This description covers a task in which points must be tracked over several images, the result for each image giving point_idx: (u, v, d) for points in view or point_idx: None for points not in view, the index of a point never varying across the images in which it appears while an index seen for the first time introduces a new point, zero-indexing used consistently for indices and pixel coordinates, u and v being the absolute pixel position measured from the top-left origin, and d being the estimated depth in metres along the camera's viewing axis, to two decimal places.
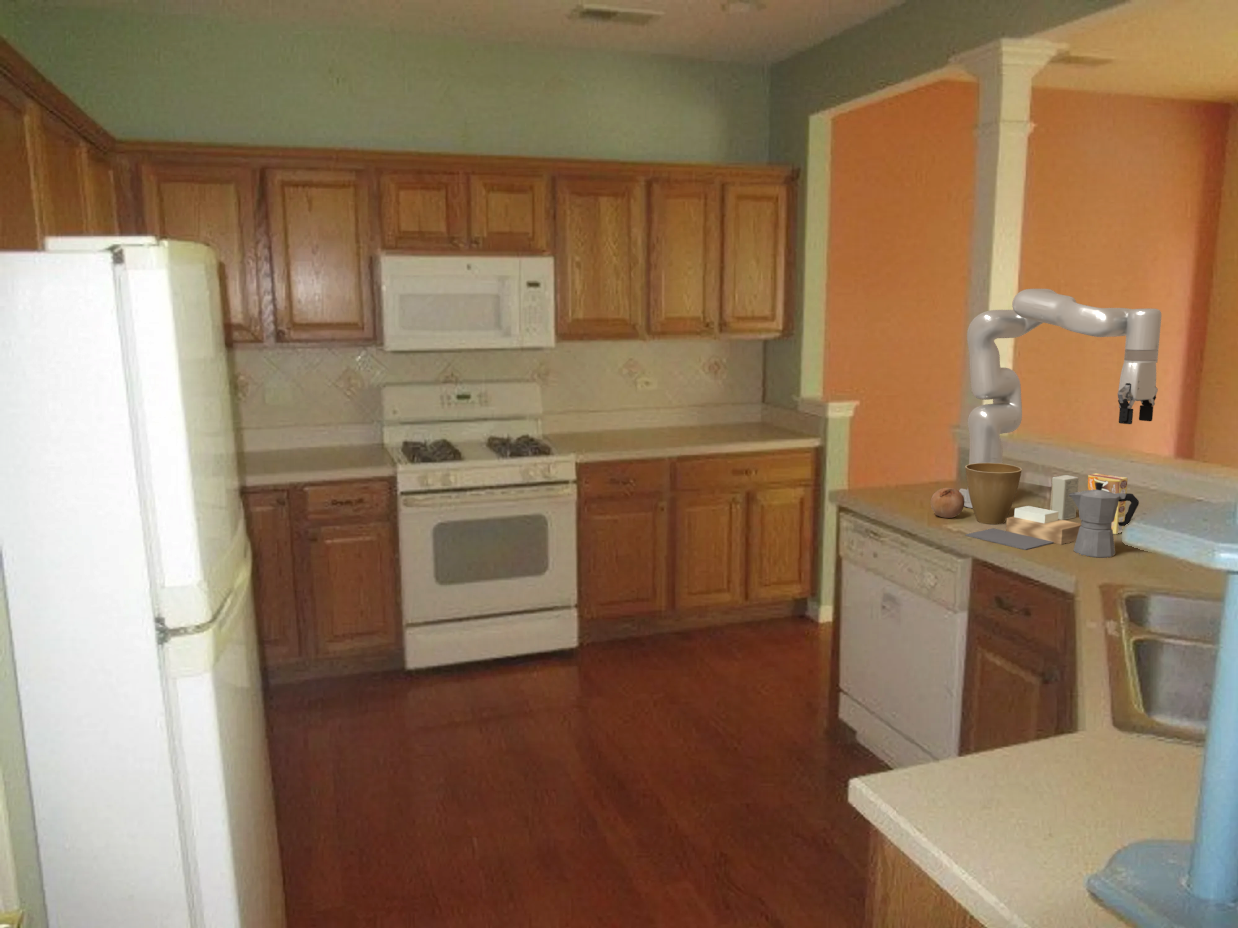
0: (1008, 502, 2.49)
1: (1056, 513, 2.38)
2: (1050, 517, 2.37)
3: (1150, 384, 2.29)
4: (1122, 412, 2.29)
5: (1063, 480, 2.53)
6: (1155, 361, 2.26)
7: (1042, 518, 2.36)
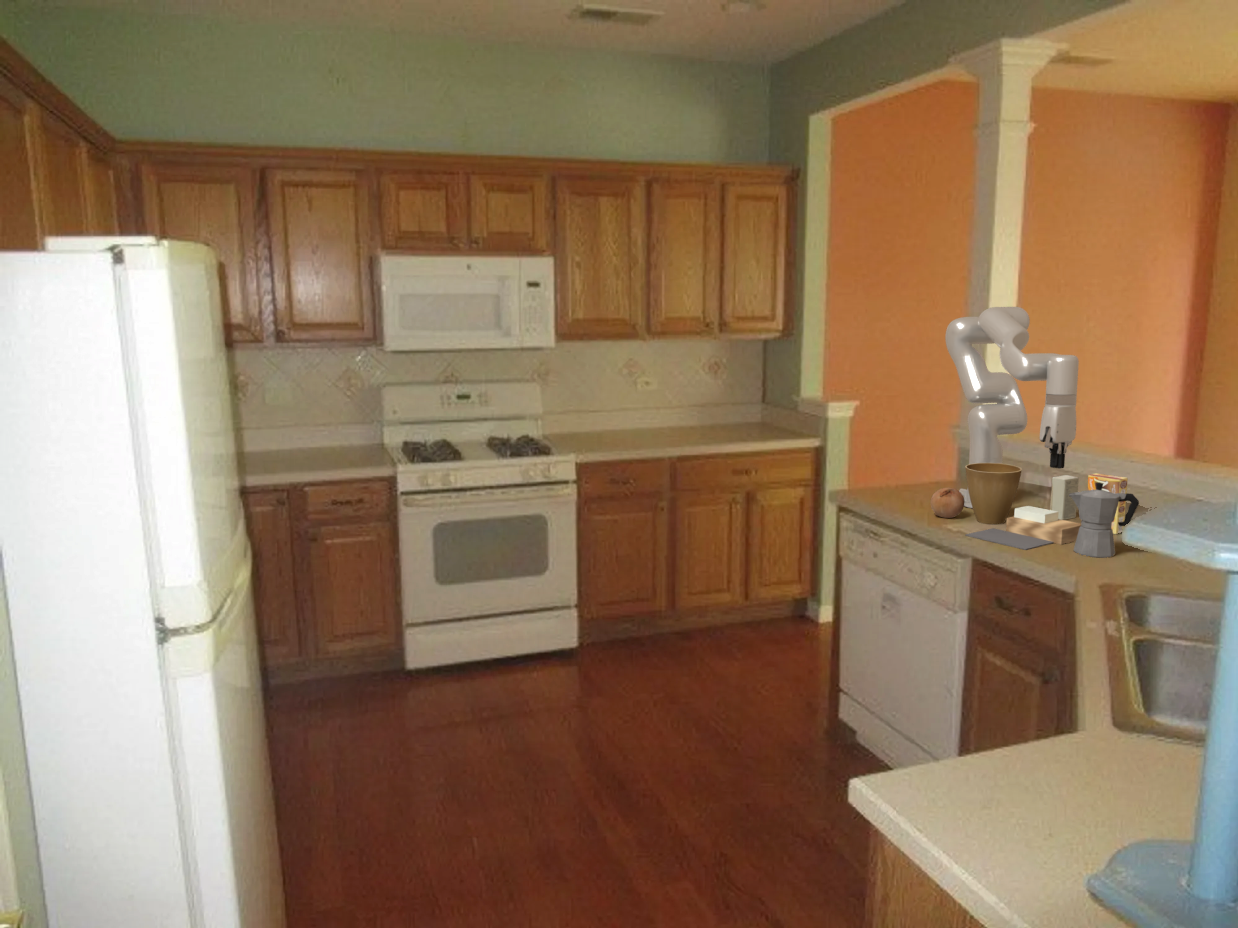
0: (1008, 502, 2.49)
1: (1056, 513, 2.38)
2: (1050, 517, 2.37)
3: (1070, 427, 2.39)
4: (1052, 457, 2.41)
5: (1063, 480, 2.53)
6: (1073, 405, 2.36)
7: (1042, 518, 2.36)
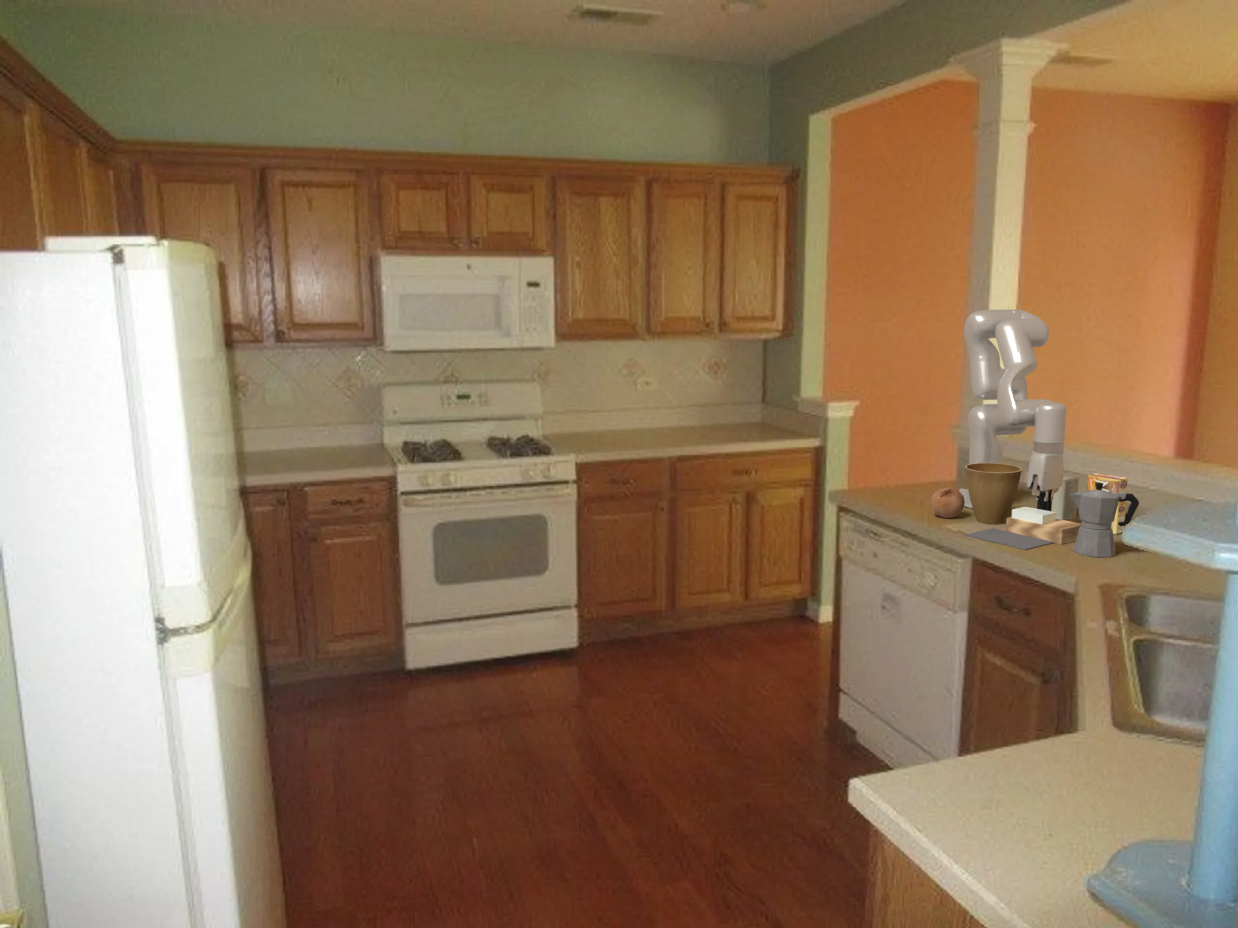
0: (1008, 502, 2.49)
1: (1054, 514, 2.37)
2: (1047, 518, 2.36)
3: (1057, 474, 2.39)
4: (1039, 504, 2.41)
5: (1063, 480, 2.53)
6: (1061, 454, 2.36)
7: (1039, 519, 2.35)
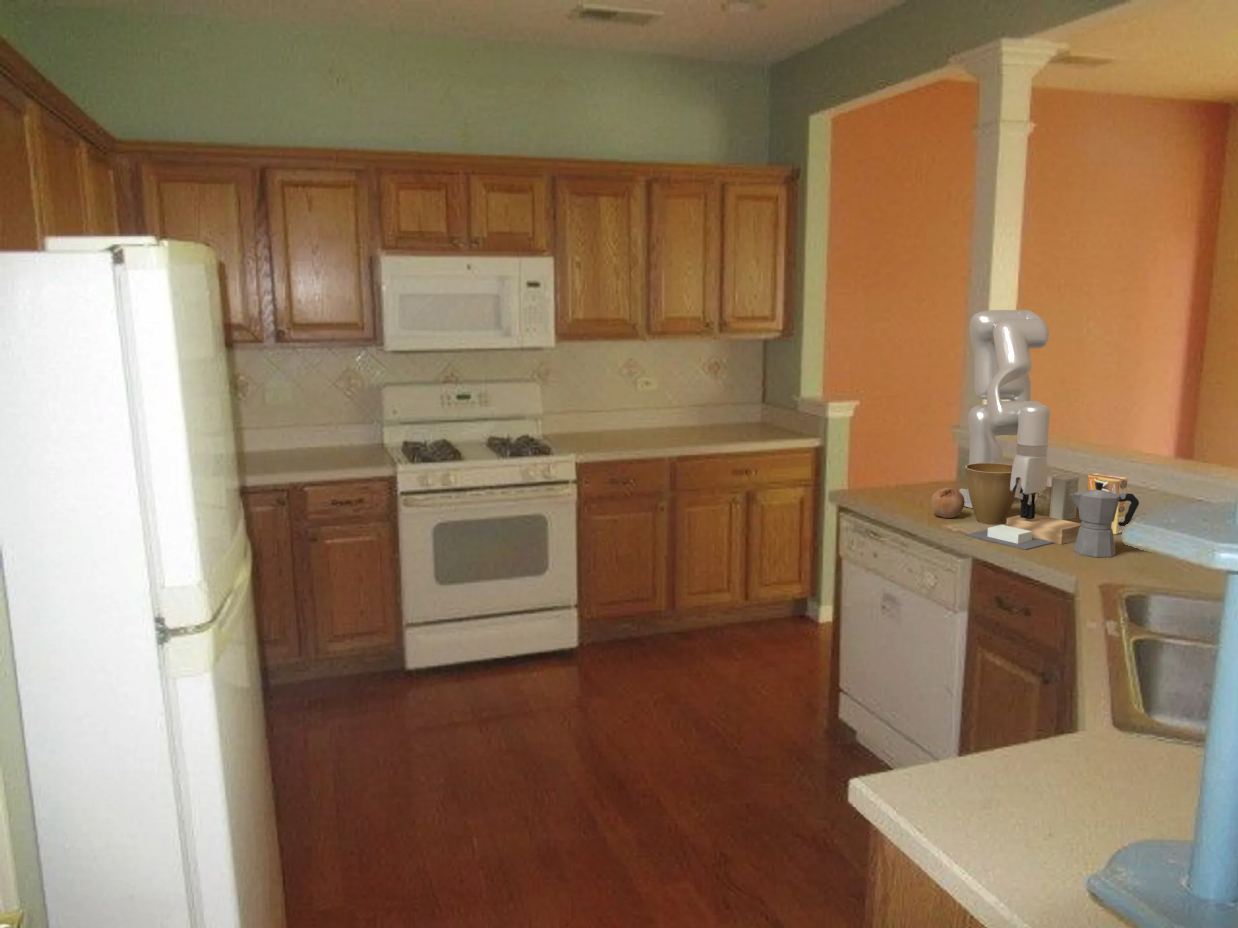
0: (1008, 502, 2.49)
1: (1020, 541, 2.30)
2: (1026, 537, 2.32)
3: (1040, 477, 2.35)
4: (1023, 507, 2.38)
5: (1063, 480, 2.53)
6: (1044, 456, 2.33)
7: None
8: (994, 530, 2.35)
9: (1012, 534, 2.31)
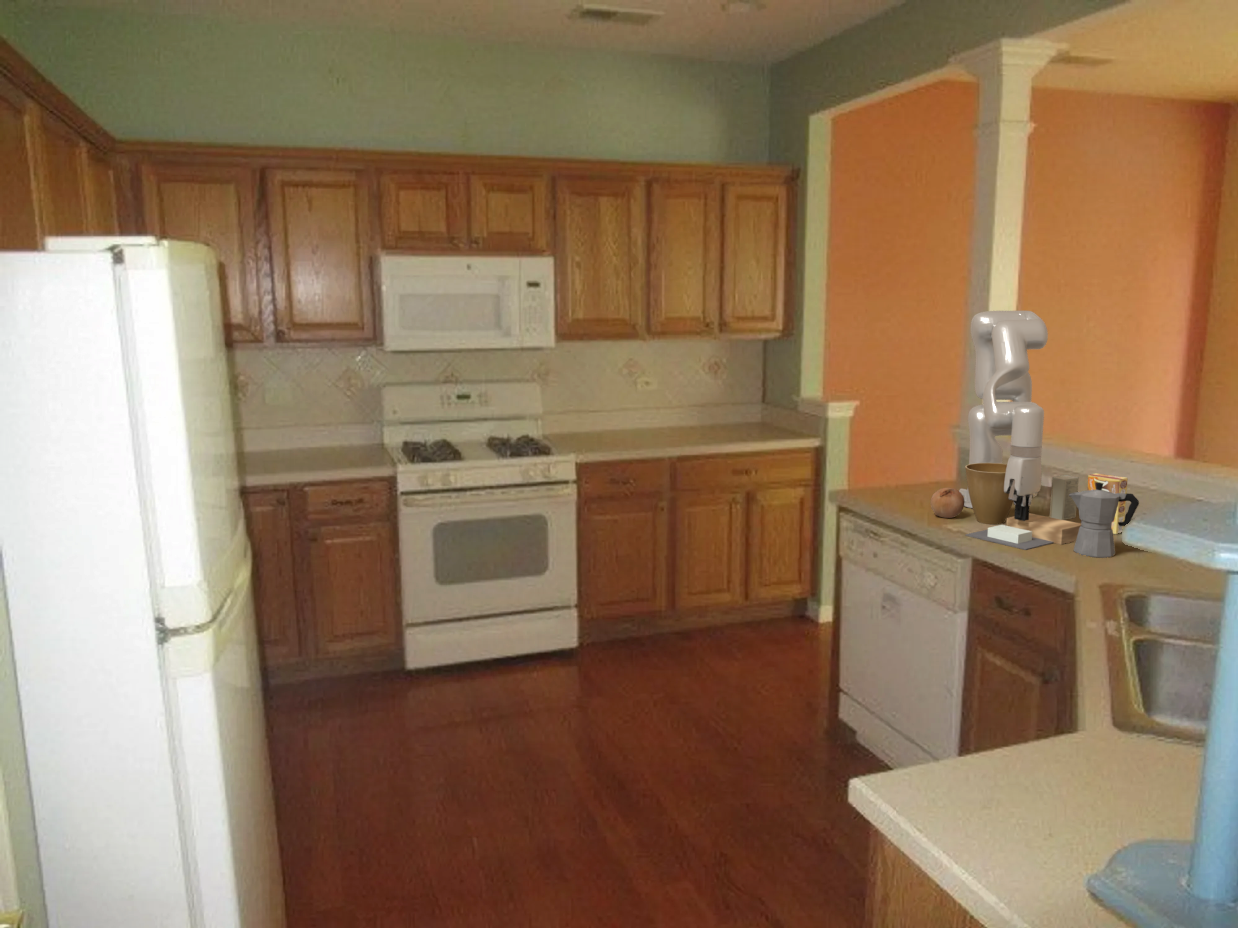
0: (1008, 502, 2.49)
1: (1020, 541, 2.30)
2: (1026, 537, 2.32)
3: (1034, 479, 2.34)
4: (1017, 509, 2.36)
5: (1063, 480, 2.53)
6: (1038, 458, 2.31)
7: None
8: (994, 530, 2.35)
9: (1012, 534, 2.31)
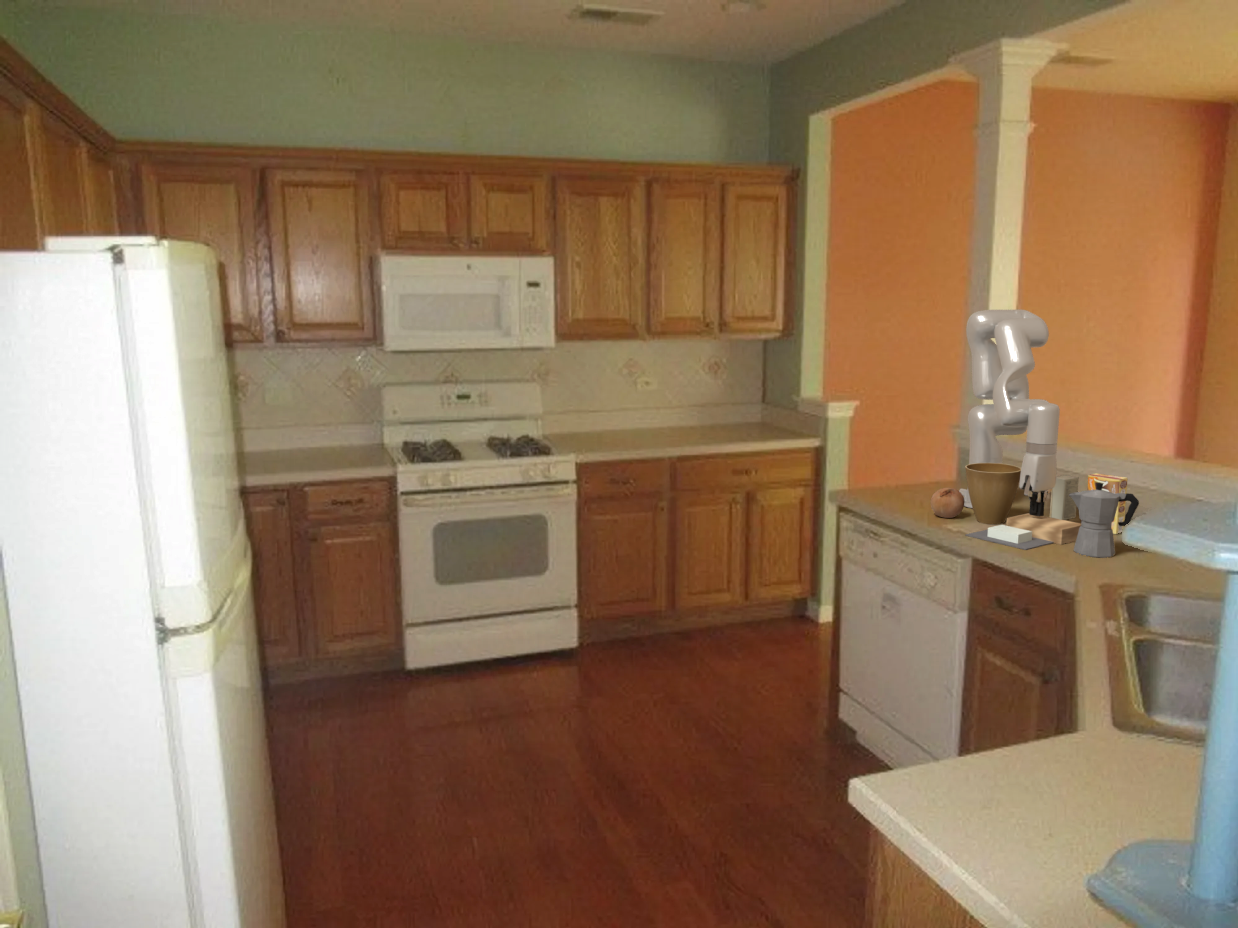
0: (1008, 502, 2.49)
1: (1020, 541, 2.30)
2: (1026, 537, 2.32)
3: (1049, 475, 2.38)
4: (1032, 504, 2.40)
5: (1063, 480, 2.53)
6: (1053, 454, 2.35)
7: None
8: (994, 530, 2.35)
9: (1012, 534, 2.31)
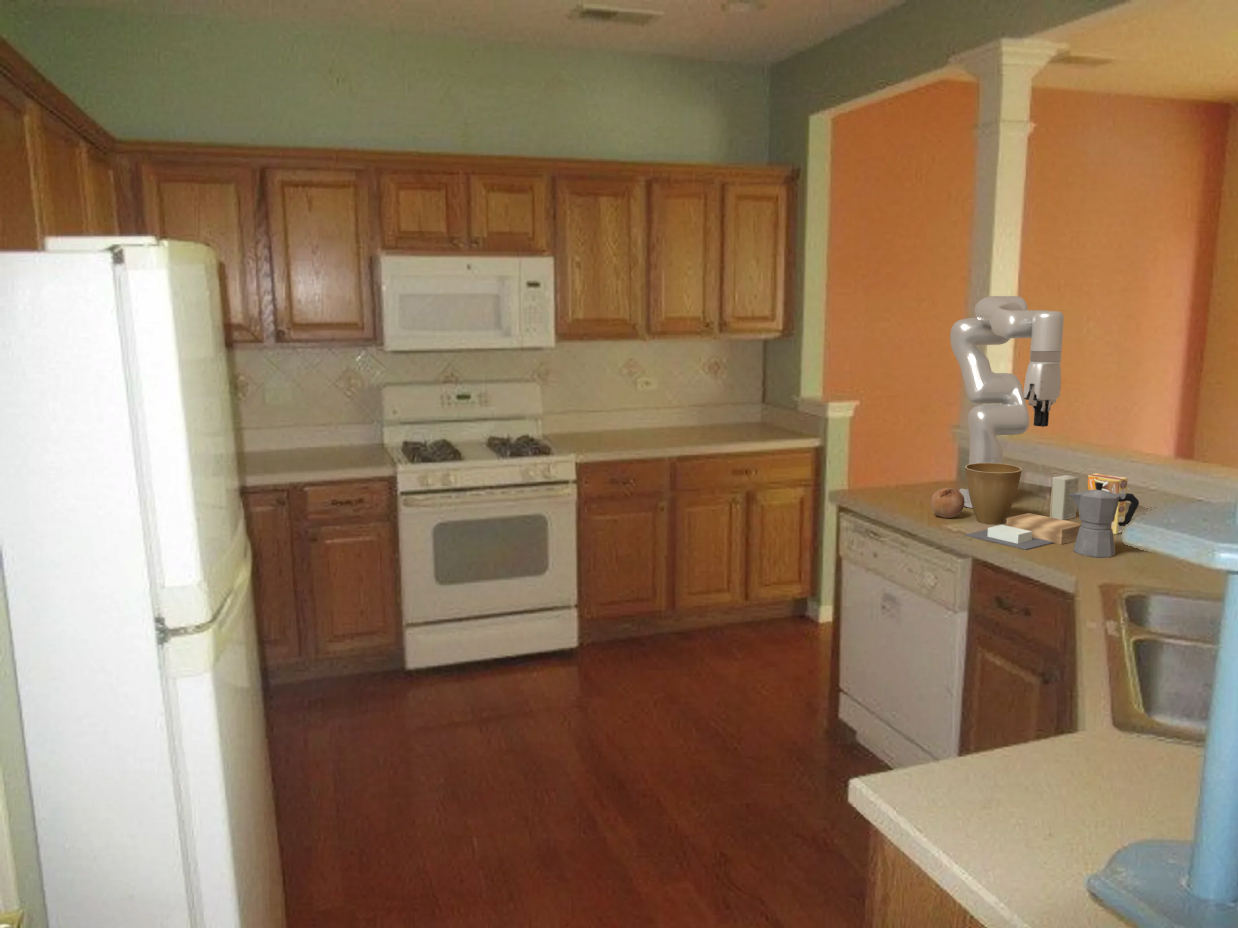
0: (1008, 502, 2.49)
1: (1020, 541, 2.30)
2: (1026, 537, 2.32)
3: (1054, 384, 2.36)
4: (1036, 415, 2.39)
5: (1063, 480, 2.53)
6: (1058, 362, 2.33)
7: None
8: (994, 530, 2.35)
9: (1012, 534, 2.31)
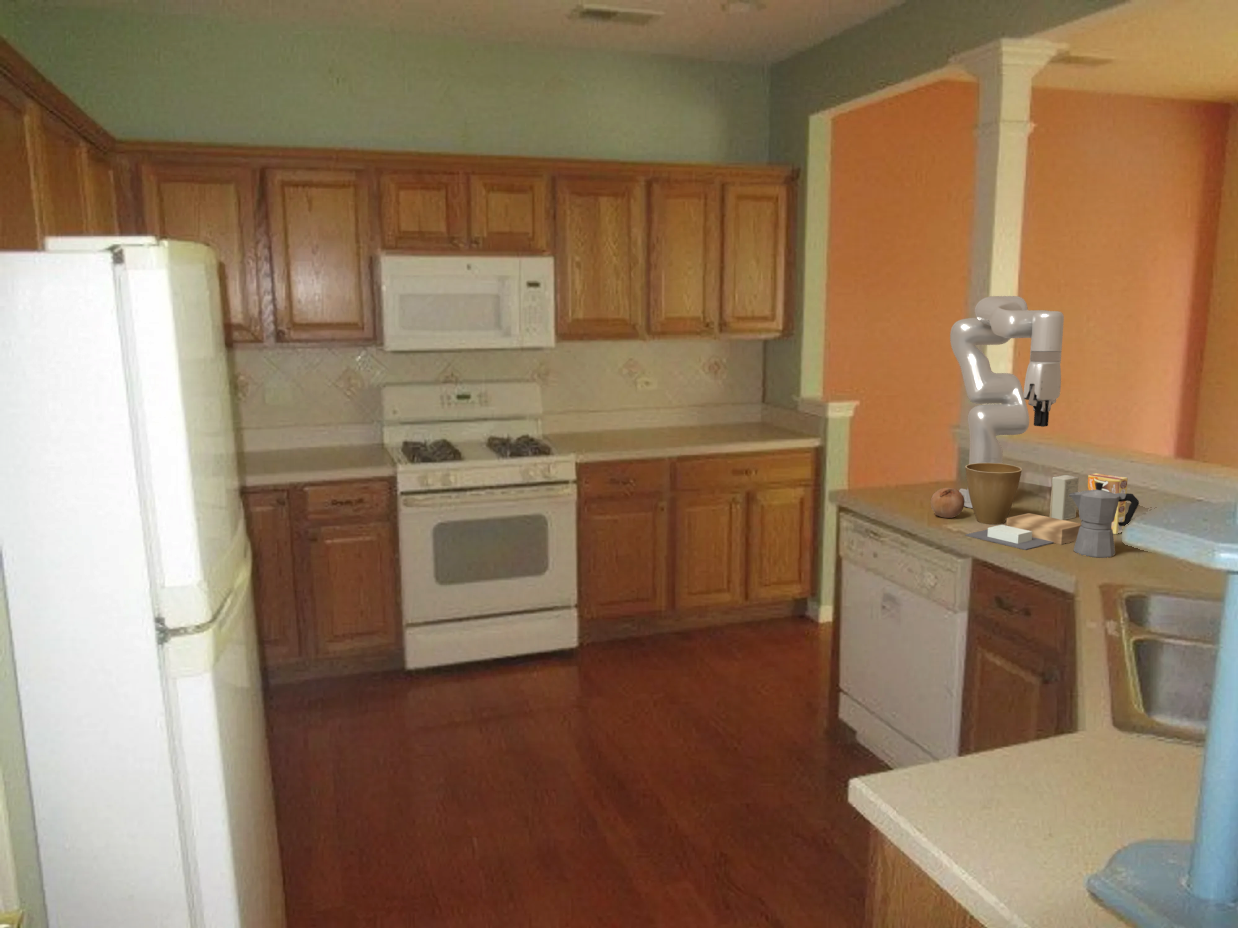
0: (1008, 502, 2.49)
1: (1020, 541, 2.30)
2: (1026, 537, 2.32)
3: (1054, 384, 2.36)
4: (1036, 415, 2.39)
5: (1063, 480, 2.53)
6: (1058, 362, 2.33)
7: None
8: (994, 530, 2.35)
9: (1012, 534, 2.31)
